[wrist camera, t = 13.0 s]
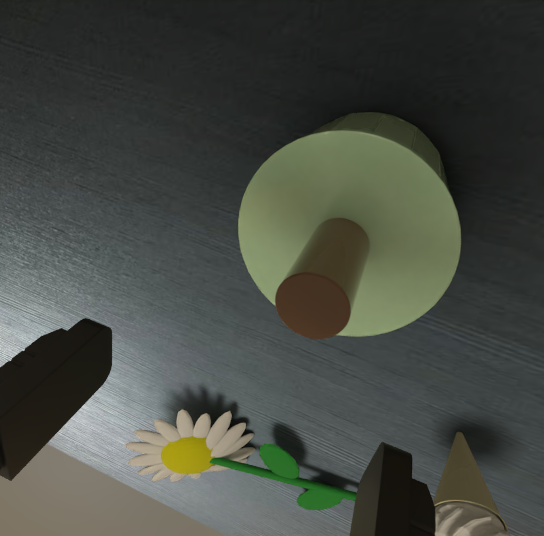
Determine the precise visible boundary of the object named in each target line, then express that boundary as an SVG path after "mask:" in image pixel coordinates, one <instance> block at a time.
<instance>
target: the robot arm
mask: <svg viewBox="0 0 544 536" xmlns="http://www.w3.org/2000/svg"><path fill="white" fill-rule="evenodd" d="M111 367H112V330H111V328H109V327H107V326H105V325H102V324H100V323H97V322H95V321H92V320H90V319H87V318H85V319H82V320H80V321H79V322H78V323H76V324H75V325H74V326H73V327H71V328H70V329H69V330H68V331H67V330H64V329H62V328H61V329H58V330H56V331H53V332H51V333H48V334H46V335H43V336H41V337H40V338H38V339H37V340H36V341H35V342H33V343H32V344H31V345H29V346H28V347H27V348H25V351H21V352H20V353H19V354H17V355H16V356H15V357H13V358H12V360H11V361H8V362H7V363H6V364H4V365H3V366H2V367H0V475H1V476H2V477H4V478H6V479H8V480H10V481H11V480H12V479H13V478H14V477H15V476H16V475H17V474H18V473H19V472H20V471H21V470H22V469H23V468H24V467H25V466H26V464H28V462H29V461H30V460H31V459H32V458H33V457H34V456H35V455H36V454H37V453H38V452H39V451H40V450H41V449H42V448H43V446H45V445H46V444H47V443H48V442H49V440H50V439H51V438H52V437H53V436H54V435H55V434H56V433H57V432H58V431H59V430H60V429H61V428H62V427H63V426H64V425H65V424H66V423H67V422H68V421H69V419H70V418H71V417H72V416H73V415H74V414H75V413H76V412H77V411H78V410H79V409H80V408H81V407H82V406H83V405H84V404H85V403H86V402H87V401H88V400H89V399H90V397H91V396H92V395H93V394H94V393H95V392H96V391H97V390H98V389H99V388H100V387H101V386H102V385H103V384H104V382H105V381H106V379H107V377H108V375H109V373H110V371H111ZM435 532H436V512H435V505H434V503H433V500H432V497H431V495H430V492H429V489H428V487H427V484H424V483H422V482H420V481H417V480H415V479H413V478H412V455H411V454H410V453H408V452H406V451H403V450H401V449H398V448H396V447H394V446H391V445H389V444H386V443H384V442H382V443H381V444H380V445H379V447H378V449H377V451H376V452H375V454H374V456H373V458H372V460H371V461H370V463H369V465H368V467H367V469H366V470H365V472H364V474H363V476H362V479H361V481H360V484H359V487H358V491H357V495H356V500H355V506H354V513H353V519H352V525H351V531H350V536H435Z"/></svg>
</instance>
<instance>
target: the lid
mask: <svg viewBox="0 0 544 536" xmlns="http://www.w3.org/2000/svg"><path fill="white" fill-rule="evenodd" d="M238 236H239V242H240V248H241V252H242V256H243V259H244V262H245V264H246V267H247V269H248V271H249V273H250V275H251V277H252V278H253V280H254V282H255V283H256V285H257V286H258V288H259V289H260V290H261V292H262V293H263V294H264V295H265V296H266V297H267V298H268V300H269V301H270V302H271V303H273V304H274V305H275V306H276V309H277V312H278V315H279V317H280V318H281V320H282V321H283V322H284V324H285V325H286V326H287V327H288V328H290V329H291V330H292V331H294V332H295V333H297V334H299V335H301V336H304V337H307V338H312V339H325V338H330V337H332V336H335V335H341V336H371V335H378V334H382V333H387V332H390V331H393V330H396V329H398V328H401V327H403V326H405V325H407V324H409V323H411V322H413V321H415V320H416V319H418V318H419V317H421V316H422V315H423V314H425V313H426V312H427V311H428V310H429V309H430V308H432V307H433V306H434V305H435V304H436V302H437V301H438V300H439V299H440V298H441V297H442V295H443V294H444V293H445V291H446V289H447V288H448V286H449V285H450V283H451V281H452V278H453V276H454V274H455V272H456V269H457V265H458V261H459V257H460V249H461V227H460V221H459V217H458V212H457V208H456V205H455V202H454V200H453V197H452V194H451V193H450V191H449V189H448V187H447V185H446V184H445V182H444V180H443V179H442V178H441V176H440V175H439V174H438V172H437V171H436V170H435V169H434V167H433V166H432V165H431V164H429V163H428V162H427V161H426V160H425V159H424V158H423V157H422V156H421V155H420V154H418V153H417V152H415V151H414V150H413V149H411V148H410V147H408V146H406V145H405V144H403V143H401V142H399V141H397V140H395V139H393V138H390V137H388V136H385V135H382V134H379V133H375V132H371V131H366V130H360V129H348V128H345V129H329V130H324V131H319V132H315V133H312V134H309V135H306V136H303V137H300V138H298V139H296V140H294V141H292V142H290V143H289V144H287V145H285V146H284V147H283V148H281V149H280V150H278V151H277V152H275V153H274V154H273V155H272V156H271V157H270V158H268V159H267V160H266V161H265V162H264V163H263V164H262V166H261V167H260V168H259V169H258V171H257V172H256V173H255V174H254V176H253V178H252V179H251V181H250V183H249V184H248V186H247V189H246V191H245V194H244V196H243V199H242V203H241V207H240V212H239V220H238Z"/></svg>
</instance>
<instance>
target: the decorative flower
mask: <svg viewBox="0 0 544 536" xmlns="http://www.w3.org/2000/svg"><path fill="white" fill-rule="evenodd" d="M231 417H232V415H231V412H230V411H229V412H226V413H224V414H223V415H222V416H220V417H219V418H218V419H217V421H216V422H215V423H214V425H213V426H212V428H211V429H210V425H211V420H210V415H208V414H207V413H205V414H203V415H201V416H200V418H199V419H198V420H197V422H196V424H195V427H194V424H193V421H192V418H191V416H190V415H189V414H188V412H187V411H185V410H180V411H179V412H178V415H177V429H176V428H175V427H174V426H173V425H171V424H170V423H168V422H166V421H164V420H161V419H155V420H154V425H155V427H156V430H157V431H158V432H159V433H156V432H152V431H147V430H137V431H134V433H135V435H136V436H137V437H138V438H140V439H141V440H143V441H146V442H130V443H127V444H125V446H126V447H127V448H128V449H130V450H133V451H136V452H140V453H144V454H143V455H138V456H136V457H134V458H132V459H130V460H129V462H128V463H129V464H130V465H133V466H147V467H145V468H143V469H142V470H140V471H139V472H138V474H140V475H142V474H150V473H153V472H157V471H158V472H157V473H156V474H154V475H153V477H152V479H151V480H152V481H158V480H161V479H164V478H166V477H167V476H169V475H171V476H170V481H173V482H175V481H178V480H180V479H182V478H183V477H184V476H185V475H186V474H188V475H189V476H191V477H193V478H199V477H200V476H201V472H211V471H220V470H226V469H230V468H231V469H235V470H239V471H242V472H246V473H250V474H254V475H258V476H261V477H265V478H269V479H273V480H277V481H280V482H284V483H288V484H292V485H296V486H299V487H303V488H307V489H311V490H308V491H306V492H304V493H302V494H300V495H299V497H298V499H297V503H298V505H299V506H301V507H303V508H305V509H309V510H322V509H327V508H331V507H333V506H335V505H337V504H339V503H340V502H341V500H342V499H343V498H345V499H349V500H353V501H355V500H356V495H357V493H356V492H352V491H348V490H345V489H341V488H337V487H333V486H329V485H325V484H322V483H318V482H314V481H310V480H306V479H302V478H299V467H298V465H297V463H296V461H295V459H294V458H293V457H292V456H291V455H290V454H289V453H288V452H287V451H286V450H284V449H282V448H280V447H278V446H277V445H274V444H264V445H263V446H261V447H260V456H261V458H262V460H263V462H264V463H265V465H266V466H267V467H268V468H269V469H270V470H268V469H264V468H260V467H256V466H253V465H249V464H245V462H246V461H247V459H246V457H248V456H249V455H251V454H252V453H253V452H254V451H255V450H256V449H254V448H253V447H246V448H241V447H243V446H244V445H245V444H247V443H248V442H249V441H250V440H251V439H252V438H253V436H254V434H253V433H249V434H247V435H244V436H242V437H241V435H242V434H243V432H244V430H245V429H246V423H240V424H237V425H235V426H233V427H231V428H230V429H229V430H228V431H227V429H228V427H229V425H230V421H231ZM226 431H227V432H226ZM147 442H148V443H147ZM240 448H241V449H240Z"/></svg>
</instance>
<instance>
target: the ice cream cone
mask: <svg viewBox="0 0 544 536" xmlns="http://www.w3.org/2000/svg"><path fill="white" fill-rule="evenodd" d="M433 503H434V505H435V512H436V532H435V536H510V534H509V533H508V528H507V525H506V523H505V521H504V520H503V519H502V518H501V516H500V514H499V512H498V510H497V508H496V505H495V503H494V501H493V499H492V497H491V495H490V492H489V490H488V488H487V486H486V484H485V482H484V479H483V477H482V475H481V472H480V470H479V468H478V466H477V464H476V462H475V459H474V457H473V455H472V453H471V451H470V449H469V446H468V444H467V442H466V440H465V438H464V436H463V433H461V432H457V433H456V436H455V439H454V442H453V445H452V448H451V451H450V454H449V457H448V460H447V463H446V466H445V469H444V472H443V475H442V478H441V480H440V483H439V486H438V489H437V492H436V496H435V499H434V502H433Z"/></svg>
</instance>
